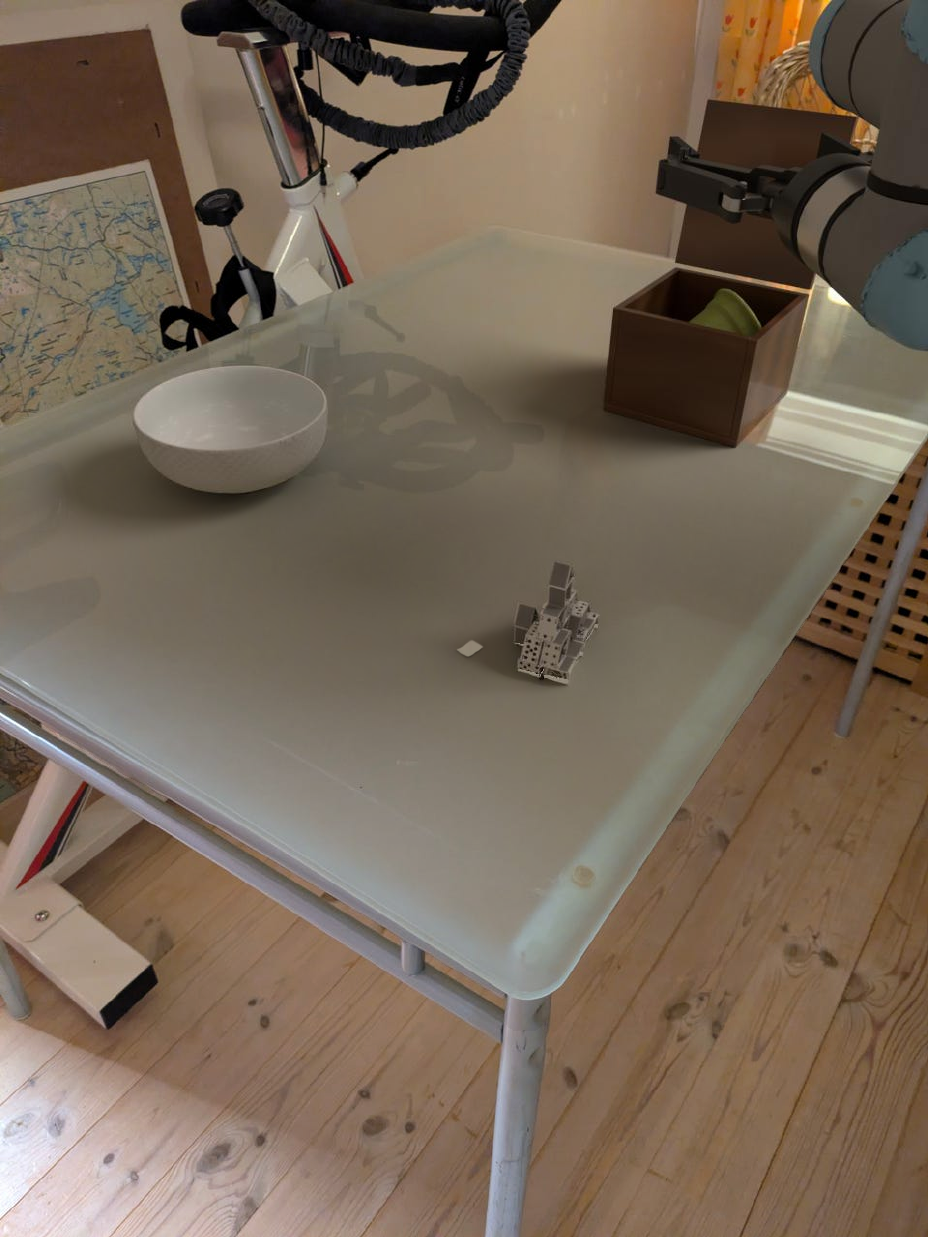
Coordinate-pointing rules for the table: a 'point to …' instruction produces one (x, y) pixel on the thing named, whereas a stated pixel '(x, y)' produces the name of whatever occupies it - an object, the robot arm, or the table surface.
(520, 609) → the house of cards
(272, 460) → the cereal bowl
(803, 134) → the chest lid
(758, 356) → the chest
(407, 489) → the table surface
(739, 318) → the plant pot
